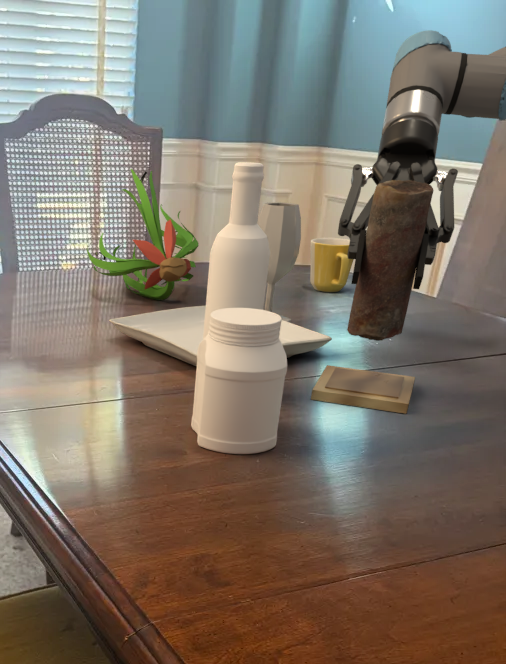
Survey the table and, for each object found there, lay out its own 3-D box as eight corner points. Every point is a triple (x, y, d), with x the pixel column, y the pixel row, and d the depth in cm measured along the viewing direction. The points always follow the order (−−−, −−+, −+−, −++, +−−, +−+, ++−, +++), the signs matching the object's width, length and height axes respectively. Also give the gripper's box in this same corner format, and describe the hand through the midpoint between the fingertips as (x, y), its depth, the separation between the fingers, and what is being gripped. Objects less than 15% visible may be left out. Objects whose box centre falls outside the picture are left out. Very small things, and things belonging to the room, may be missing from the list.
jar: (188, 419, 102) (197, 303, 94) (260, 420, 102) (275, 304, 95) (201, 454, 92) (213, 328, 84) (280, 454, 92) (299, 329, 85)
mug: (301, 284, 179) (308, 236, 174) (346, 286, 178) (354, 238, 173) (307, 297, 168) (315, 246, 162) (355, 299, 167) (364, 248, 161)
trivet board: (413, 386, 116) (415, 375, 115) (406, 414, 105) (409, 402, 104) (325, 374, 120) (327, 363, 119) (310, 399, 109) (312, 388, 109)
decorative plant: (136, 341, 154) (79, 303, 177) (244, 306, 160) (175, 273, 183) (117, 205, 138) (58, 182, 161) (238, 171, 144) (164, 154, 167)
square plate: (207, 382, 115) (209, 356, 113) (105, 339, 135) (106, 316, 133) (331, 356, 128) (335, 333, 126) (222, 320, 148) (224, 300, 146)
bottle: (224, 408, 106) (249, 166, 91) (186, 392, 111) (204, 161, 96) (265, 397, 110) (295, 164, 95) (226, 382, 115) (249, 160, 100)
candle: (408, 336, 109) (440, 181, 99) (393, 348, 104) (426, 186, 94) (355, 328, 113) (381, 178, 103) (338, 339, 108) (364, 182, 98)
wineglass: (234, 322, 147) (246, 203, 137) (262, 315, 152) (276, 200, 142) (270, 331, 142) (286, 208, 131) (299, 324, 147) (316, 205, 136)
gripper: (480, 160, 108) (461, 303, 102) (332, 154, 113) (307, 290, 107) (495, 118, 101) (475, 269, 95) (337, 113, 106) (310, 257, 100)
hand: (386, 280), depth 101 cm, fingers closed on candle, 7 cm apart
